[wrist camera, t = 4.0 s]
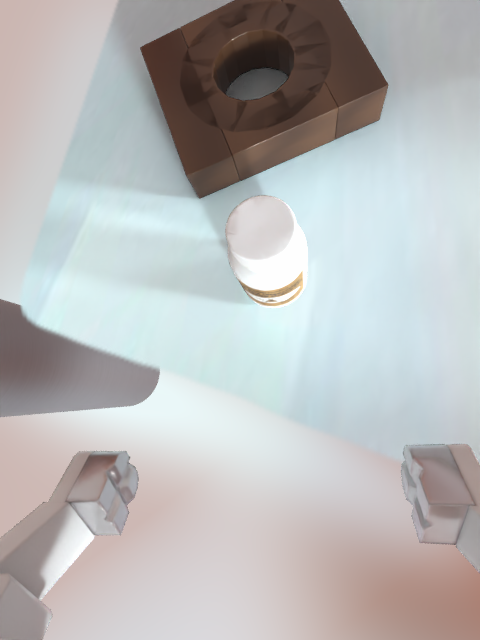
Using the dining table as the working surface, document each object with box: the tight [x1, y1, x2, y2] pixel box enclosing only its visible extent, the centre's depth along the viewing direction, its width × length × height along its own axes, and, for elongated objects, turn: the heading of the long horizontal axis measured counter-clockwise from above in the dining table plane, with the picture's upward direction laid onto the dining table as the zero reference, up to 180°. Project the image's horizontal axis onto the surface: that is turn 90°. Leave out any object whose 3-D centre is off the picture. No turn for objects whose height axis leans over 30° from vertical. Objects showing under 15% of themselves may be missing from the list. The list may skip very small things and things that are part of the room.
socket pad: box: [140, 0, 388, 198], centre depth 26 cm, size 14×12×3 cm
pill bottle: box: [225, 196, 307, 308], centre depth 20 cm, size 4×4×8 cm
